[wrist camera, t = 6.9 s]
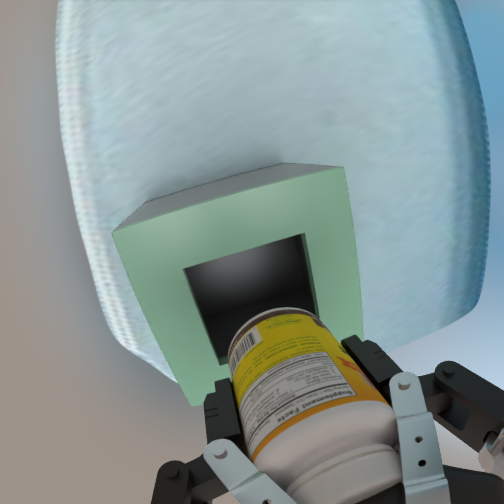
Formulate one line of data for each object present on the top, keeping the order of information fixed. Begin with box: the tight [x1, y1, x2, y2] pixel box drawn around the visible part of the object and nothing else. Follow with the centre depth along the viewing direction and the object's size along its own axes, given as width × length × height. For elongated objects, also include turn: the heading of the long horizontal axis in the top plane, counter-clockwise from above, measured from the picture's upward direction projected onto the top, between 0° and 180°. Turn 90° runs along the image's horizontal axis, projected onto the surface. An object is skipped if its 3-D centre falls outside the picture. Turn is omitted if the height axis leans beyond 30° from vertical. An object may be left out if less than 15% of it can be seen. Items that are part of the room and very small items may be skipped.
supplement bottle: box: [228, 307, 401, 504], centre depth 11 cm, size 6×6×10 cm
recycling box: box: [111, 163, 364, 407], centre depth 28 cm, size 16×16×14 cm
